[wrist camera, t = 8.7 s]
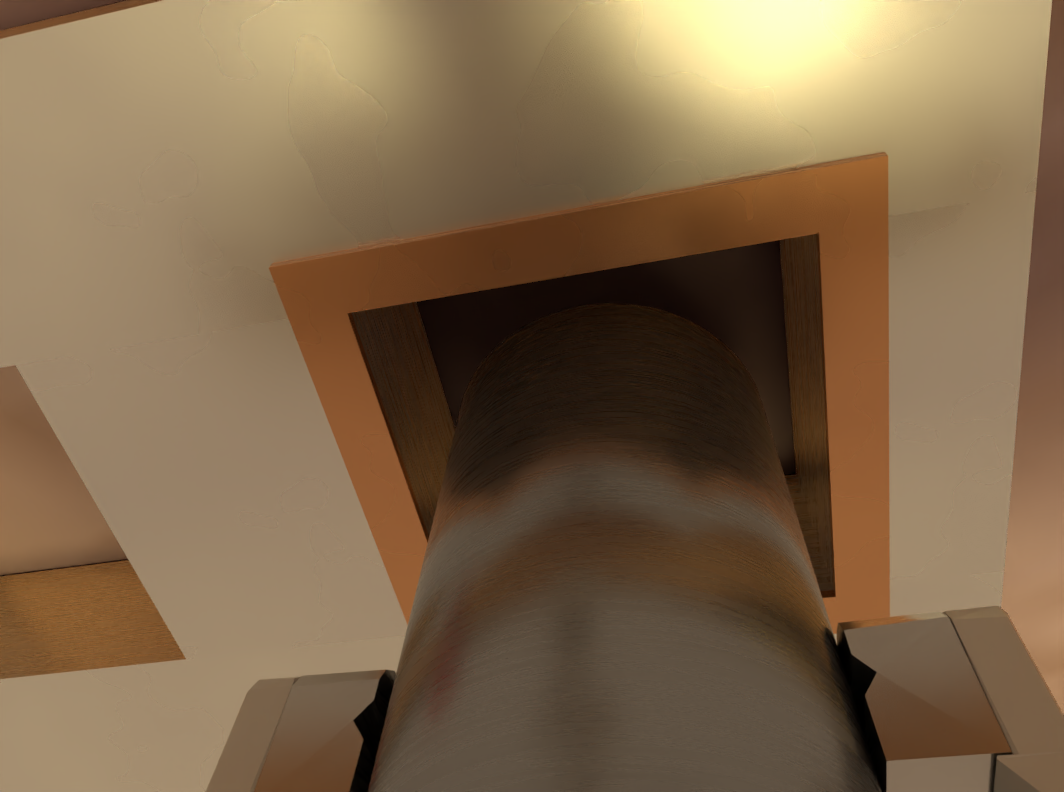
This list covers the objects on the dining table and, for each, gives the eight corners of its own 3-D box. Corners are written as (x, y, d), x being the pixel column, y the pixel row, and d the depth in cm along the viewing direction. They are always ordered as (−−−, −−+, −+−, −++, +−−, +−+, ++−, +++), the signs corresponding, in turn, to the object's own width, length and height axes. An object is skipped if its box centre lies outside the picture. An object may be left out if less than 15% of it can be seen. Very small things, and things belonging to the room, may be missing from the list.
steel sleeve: (422, 331, 12) (211, 917, 6) (752, 277, 12) (980, 873, 5) (495, 572, 15) (410, 1198, 8) (775, 539, 14) (950, 1197, 7)
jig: (-468, 141, 14) (-712, 207, 12) (958, -199, 11) (1078, -217, 8) (-20, 711, 21) (-108, 834, 19) (933, 615, 18) (993, 749, 15)
